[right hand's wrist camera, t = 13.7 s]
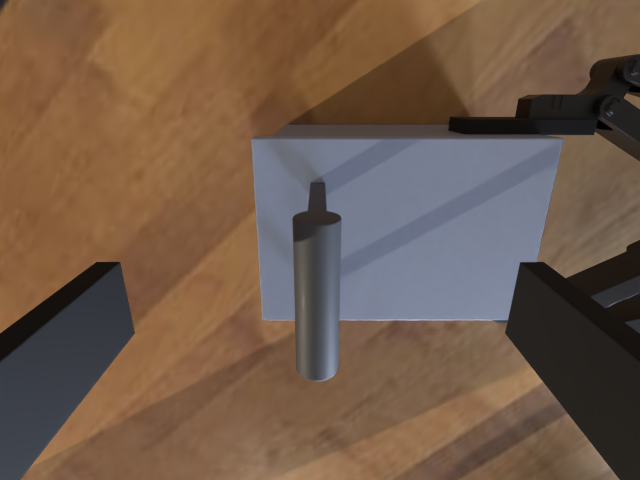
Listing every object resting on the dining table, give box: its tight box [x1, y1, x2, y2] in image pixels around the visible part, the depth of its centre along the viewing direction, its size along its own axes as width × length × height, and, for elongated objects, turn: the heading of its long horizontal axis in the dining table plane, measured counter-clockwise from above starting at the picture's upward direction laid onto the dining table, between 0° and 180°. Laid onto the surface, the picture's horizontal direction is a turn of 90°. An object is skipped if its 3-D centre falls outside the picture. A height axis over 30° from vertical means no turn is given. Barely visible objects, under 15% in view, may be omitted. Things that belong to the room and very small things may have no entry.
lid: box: [251, 136, 563, 381], centre depth 16 cm, size 14×10×8 cm
